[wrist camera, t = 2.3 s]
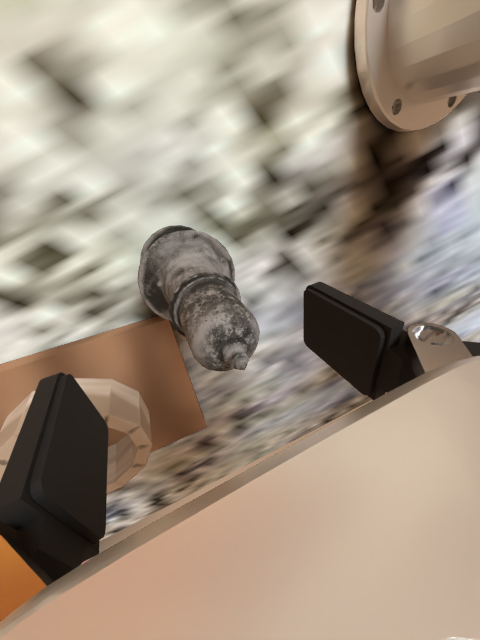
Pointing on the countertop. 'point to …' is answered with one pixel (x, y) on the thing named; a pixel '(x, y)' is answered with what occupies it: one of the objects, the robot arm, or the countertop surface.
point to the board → (125, 364)
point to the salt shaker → (198, 296)
